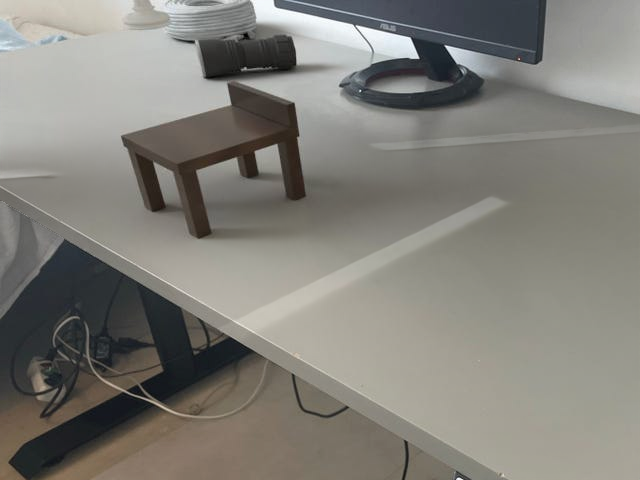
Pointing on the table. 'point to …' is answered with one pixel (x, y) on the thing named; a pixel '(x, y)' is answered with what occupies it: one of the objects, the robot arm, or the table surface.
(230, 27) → the cable
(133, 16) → the chess piece
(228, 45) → the flashlight
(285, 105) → the wooden bench with backrest
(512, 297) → the table surface
